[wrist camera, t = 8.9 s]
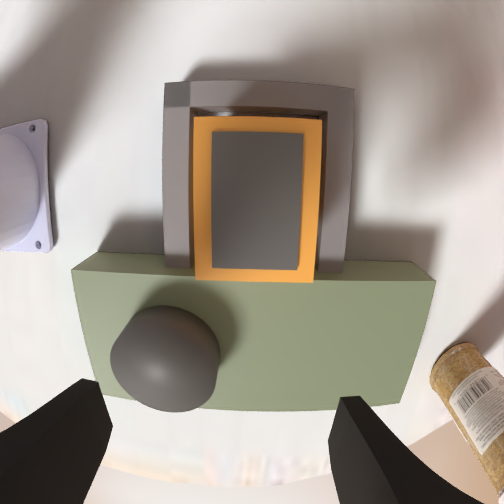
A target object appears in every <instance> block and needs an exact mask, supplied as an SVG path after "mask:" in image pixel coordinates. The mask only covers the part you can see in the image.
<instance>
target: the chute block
mask: <svg viewBox="0 0 504 504" xmlns="http://www.w3.org/2000/svg"><path fill="white" fill-rule="evenodd" d="M321 146H322V120H317V119H303V118H286V117H259V116H208V117H194V135H193V211H194V252H195V278H196V280H211V281H245V282H294V283H313V277H314V266H315V254H316V241H317V227H318V211H319V194H320V173H321Z"/></svg>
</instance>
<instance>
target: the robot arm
mask: <svg viewBox="0 0 504 504" xmlns="http://www.w3.org/2000/svg"><path fill="white" fill-rule="evenodd" d="M34 125H35V131H34V132H33V127H34ZM47 139H48V123H47V121H46V120H44V119H37V120H32V121H28V122H24V123H20V124H16V125H12V126H8V127H5V128H1V129H0V251H14V252H36V253H48V252H50V251H51V250H52V249H53V237H52V228H51V218H50V206H49V190H48V163H47ZM39 241H40V243H41V246H40V245H39ZM112 428H113V425H112V422H111V419H110V416H109V413H108V410H107V408H106V405H105V401H104V398H103V395H102V392H101V389H100V386H99V382H97V381H92V380H87V379H80V380H79V381H77V382H76V383H74V384H73V385H71V386H70V387H69V388H67V389H66V390H64V391H63V392H62V393H60V394H59V395H57V396H56V397H55V398H53V399H52V400H50V401H49V402H48V403H46V404H45V405H43V406H42V407H40V408H39V409H38V410H36V411H35V412H33V413H32V414H30V415H29V416H27V417H25V418H24V419H22V420H21V421H19V422H17V423H16V424H14V425H13V426H11V427H9V428H8V429H6V430H4V431H2V432H1V433H0V504H83V503H84V500H85V498H86V495H87V493H88V491H89V489H90V486H91V484H92V481H93V479H94V477H95V475H96V472H97V470H98V468H99V466H100V464H101V461H102V459H103V457H104V454H105V452H106V449H107V445H108V442H109V439H110V435H111V431H112ZM328 445H329V454H330V463H331V470H332V474H333V478H334V482H335V486H336V490H337V494H338V498H339V502H340V504H484V503H482V502H480V501H478V500H476V499H474V498H473V497H471V496H469V495H467V494H465V493H464V492H462V491H460V490H459V489H457V488H456V487H454V486H452V485H451V484H450V483H449V482H447V481H446V480H444V479H443V478H442V477H440V476H439V475H438V474H436V473H435V472H434V471H432V470H431V469H430V468H429V467H428V466H427V465H425V464H424V463H423V462H422V461H421V460H420V459H419V458H418V457H417V456H415V455H414V454H413V453H412V452H411V451H410V450H409V449H408V448H407V447H406V446H405V445H404V444H403V443H402V442H401V441H400V440H399V439H398V438H397V437H396V436H395V435H394V433H393V432H392V431H391V430H390V429H389V428H388V427H387V426H386V425H385V424H384V422H383V421H382V420H381V419H380V418H379V417H378V416H377V415H376V413H375V412H374V411H373V410H372V409H371V408H370V406H369V405H368V404H367V403H366V402H365V401H364V400H363V398H362V397H361V396H347V397H340V399H339V403H338V407H337V411H336V414H335V418H334V422H333V425H332V429H331V432H330V435H329V439H328Z"/></svg>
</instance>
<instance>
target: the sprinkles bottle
mask: <svg viewBox="0 0 504 504" xmlns="http://www.w3.org/2000/svg"><path fill="white" fill-rule="evenodd" d="M430 385H431V387H432V389H433V390H434V391H435V392H436V393H438V395H439V396H440V398H441V399H442V401H443V403H444V404H445V406H446V407H447V409H448V410H449V414H450V416H451V417H452V419H453V420H454V422H455V424H456V425H457V427H458V429H459V430H460V432H461V433H462V435H463V437H464V438H465V440H466V441H467V443H469V444H470V446H471V448H472V450H473V451H474V453H475V455H476V456H477V458H478V460H479V461H480V463H481V464H482V467H483V468H484V470H485V472H486V473H487V474H488V476H489V478H490V480H491V481H492V484H493V485H494V487H495V488H496V490H497V496H498V497H500V498H499V504H504V377H503V376H502V375H501V374H500V373H499V372H498V371H497V370H496V369H495V368H493V367H492V366H491V365H490V363H489V362H488V361H487V360H486V359H485V358H484V357H483V356H482V355H481V354H480V353H479V351H478V349H477V347H476V346H475V345H473V344H472V343H461V344H459V345H456V346H453V347H452V348H450V349H449V350H448V351H447V352H446V353H444V354H443V355H442V356H441V357H440V359H439V360H438V361H437V362H436V364H435V365H434V367H433V369H432V372H431V375H430Z"/></svg>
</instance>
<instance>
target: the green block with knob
mask: <svg viewBox="0 0 504 504" xmlns="http://www.w3.org/2000/svg"><path fill="white" fill-rule="evenodd" d="M198 112H255V113H280V114H297V115H310V116H319V120H322V146H321V173H320V194H319V211H318V227H317V241H316V254H315V266H314V277H313V283H294V282H245V281H211V280H196V278H195V252H194V211H193V135H194V117H198ZM353 133H354V89H352V88H344V87H337V86H328V85H319V84H308V83H296V82H280V81H256V80H211V81H186V82H171V83H165V88H164V109H163V146H162V191H163V229H164V252H165V255H164V254H136V253H108V252H96V253H95V254H93V255H92V256H90V257H89V258H87V259H86V260H84V261H83V262H81V263H80V264H78V265H77V266H76V267H74V268H73V269H71V274H72V280H73V286H74V291H75V297H76V302H77V307H78V312H79V317H80V322H81V326H82V331H83V335H84V339H85V343H86V347H87V351H88V355H89V359H90V362H91V366H92V369H93V373H94V376H95V380H96V381H97V382H99V386H100V389H101V392H102V394H103V395H108V396H113V397H119V398H125V399H130V400H137V401H139V402H140V403H142V404H144V405H146V406H148V407H151V408H153V409H157V410H160V411H166V412H186V411H190V410H193V409H196V408H204V409H218V410H236V411H319V410H337V407H338V403H339V399H340V397H347V396H361V397H362V398H363V400H364V401H365V402H366V403H367V404H368V405H369V406H370V407H372V406H381V405H389V404H396V403H399V402H400V400H401V397H402V395H403V392H404V389H405V387H406V384H407V381H408V378H409V376H410V373H411V370H412V367H413V364H414V361H415V358H416V355H417V352H418V348H419V345H420V342H421V338H422V335H423V332H424V328H425V324H426V321H427V317H428V313H429V309H430V305H431V301H432V297H433V293H434V289H435V284H436V280H434V279H433V278H432V277H431V276H429V275H428V274H427V273H425V272H424V271H423V270H422V269H420V268H419V267H418V266H416V265H415V264H414V263H413V262H400V261H362V260H344V256H345V247H346V237H347V227H348V216H349V205H350V191H351V176H352V158H353Z"/></svg>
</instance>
